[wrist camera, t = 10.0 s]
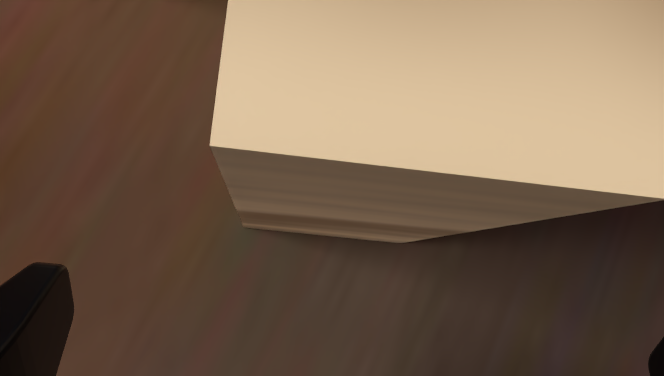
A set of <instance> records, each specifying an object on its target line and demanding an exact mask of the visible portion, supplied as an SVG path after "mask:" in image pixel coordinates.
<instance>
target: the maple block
mask: <svg viewBox="0 0 664 376" xmlns="http://www.w3.org/2000/svg"><path fill="white" fill-rule="evenodd" d="M210 148H211V150H212V153H213V155H214V157H215V160H216V162H217V165H218V167H219V169H220V172H221V174H222V177H223V179H224V181H225V184H226V186H227V188H228V191H229V193H230V196H231V198H232V200H233V203H234V205H235V208H236V210H237V212H238V215H239V217H240V220H241V222H242V224H243V227H245V228H255V229H265V230H274V231H284V232H294V233H304V234H314V235H324V236H334V237H344V238H353V239H363V240H373V241H383V242H393V243H405V242H411V241H417V240H423V239H430V238H436V237H442V236H448V235H454V234H460V233H466V232H472V231H478V230H484V229H490V228H497V227H503V226H509V225H515V224H521V223H527V222H533V221H539V220H545V219H551V218H557V217H564V216H570V215H576V214H582V213H588V212H594V211H600V210H606V209H612V208H618V207H624V206H631V205H637V204H643V203H649V202H655V201H661V200H664V0H228V6H227V14H226V22H225V30H224V38H223V45H222V53H221V61H220V69H219V76H218V84H217V92H216V100H215V108H214V115H213V123H212V131H211V139H210Z"/></svg>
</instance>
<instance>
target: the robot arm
mask: <svg viewBox="0 0 664 376" xmlns="http://www.w3.org/2000/svg"><path fill="white" fill-rule="evenodd" d="M73 315H74V302H73V296H72V290H71V284H70V278H69V273H68V270H67V268H66V267H65V266H64V265H61V264H52V263H41V262H36V263H33V264H30V265H29V266H27V267H26V268H24V269H23V270H21V271H20V272H19V273H17V274H16V275H15V276H13V277H12V278H10V279H9V280H8V281H6V282H5V283H3V284H2V285H1V286H0V376H56V373H57V370H58V367H59V363H60V360H61V357H62V354H63V350H64V347H65V344H66V340H67V337H68V334H69V331H70V327H71V324H72V320H73ZM648 368H649V373H650V376H664V337H663V339H662V340H661V341H660V342H659V344H658V345H657V346H656V348H655V349H654V350H653V351H652V353H651V354H650V357H649V362H648Z"/></svg>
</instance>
